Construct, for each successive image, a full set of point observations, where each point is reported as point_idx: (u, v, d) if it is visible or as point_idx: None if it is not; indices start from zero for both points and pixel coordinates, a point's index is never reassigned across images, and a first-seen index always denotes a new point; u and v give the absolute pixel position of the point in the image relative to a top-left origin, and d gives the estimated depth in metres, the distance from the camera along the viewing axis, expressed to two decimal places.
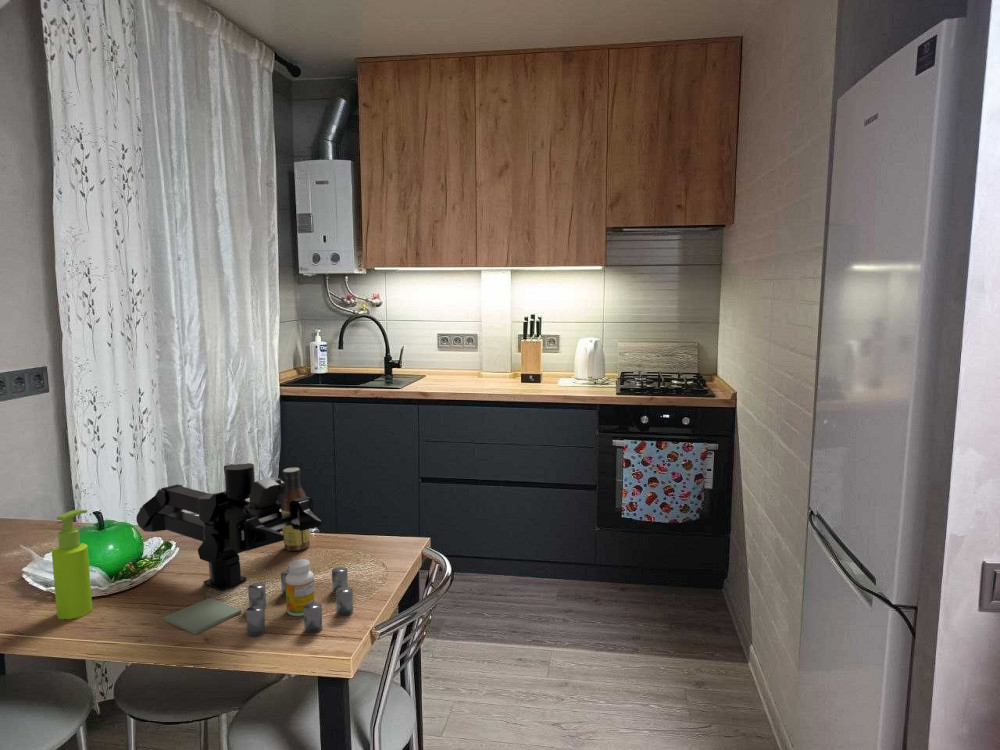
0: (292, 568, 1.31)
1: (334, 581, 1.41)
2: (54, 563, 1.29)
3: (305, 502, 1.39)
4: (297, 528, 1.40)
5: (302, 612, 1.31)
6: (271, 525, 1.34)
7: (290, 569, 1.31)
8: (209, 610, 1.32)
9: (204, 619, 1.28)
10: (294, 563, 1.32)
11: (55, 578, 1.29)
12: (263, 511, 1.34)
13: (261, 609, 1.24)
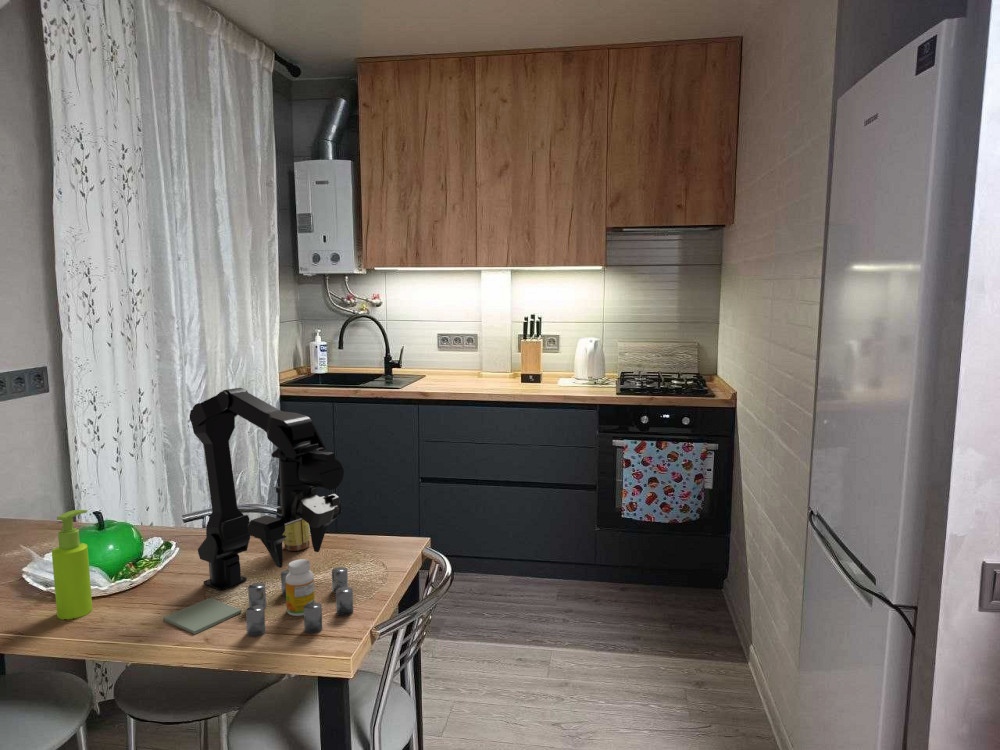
0: (292, 568, 1.31)
1: (334, 581, 1.41)
2: (54, 563, 1.29)
3: (332, 520, 1.36)
4: None
5: (302, 612, 1.31)
6: None
7: (290, 569, 1.31)
8: (209, 610, 1.32)
9: (204, 619, 1.28)
10: (294, 563, 1.32)
11: (55, 578, 1.29)
12: None
13: (261, 609, 1.24)
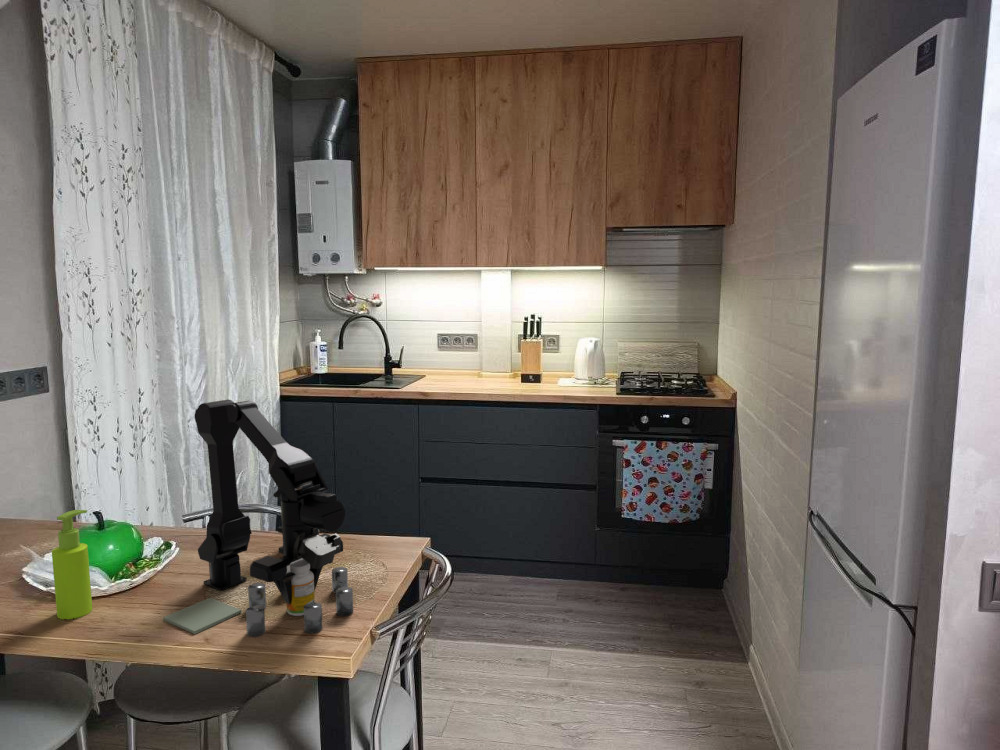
0: (292, 568, 1.31)
1: (334, 581, 1.41)
2: (54, 563, 1.29)
3: None
4: None
5: (302, 612, 1.31)
6: None
7: (290, 569, 1.31)
8: (209, 610, 1.32)
9: (204, 619, 1.28)
10: (294, 563, 1.32)
11: (55, 578, 1.29)
12: None
13: (261, 609, 1.24)
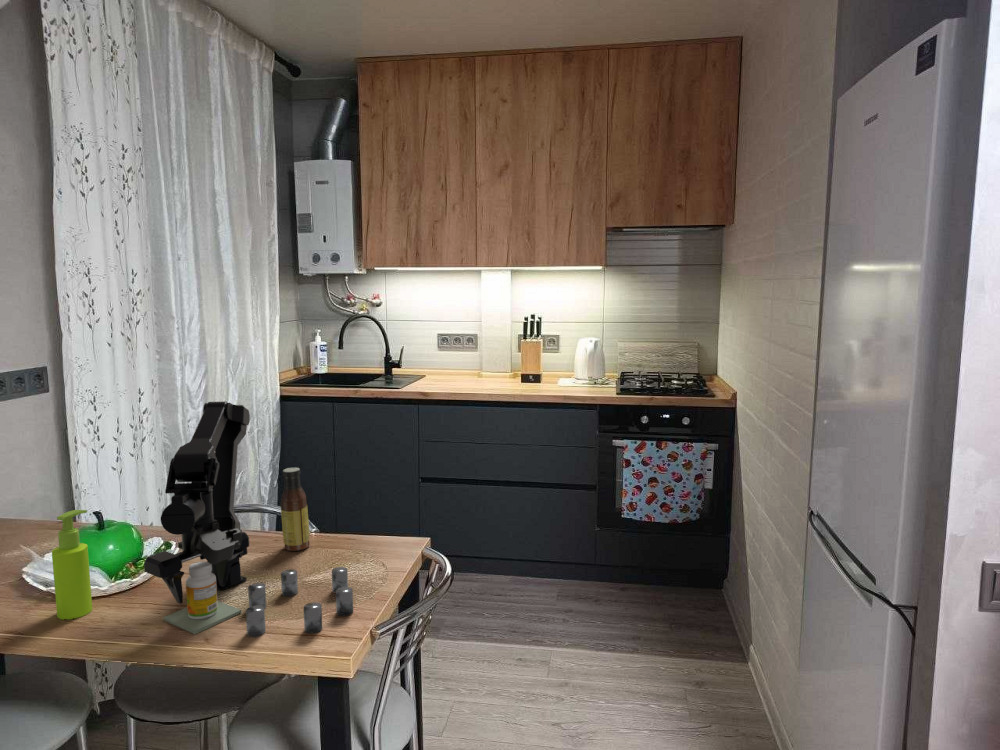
0: (191, 571, 1.28)
1: (334, 581, 1.41)
2: (54, 563, 1.29)
3: (237, 553, 1.34)
4: None
5: (202, 615, 1.28)
6: None
7: (190, 571, 1.28)
8: None
9: (204, 619, 1.28)
10: (194, 565, 1.30)
11: (55, 578, 1.29)
12: None
13: (261, 609, 1.24)
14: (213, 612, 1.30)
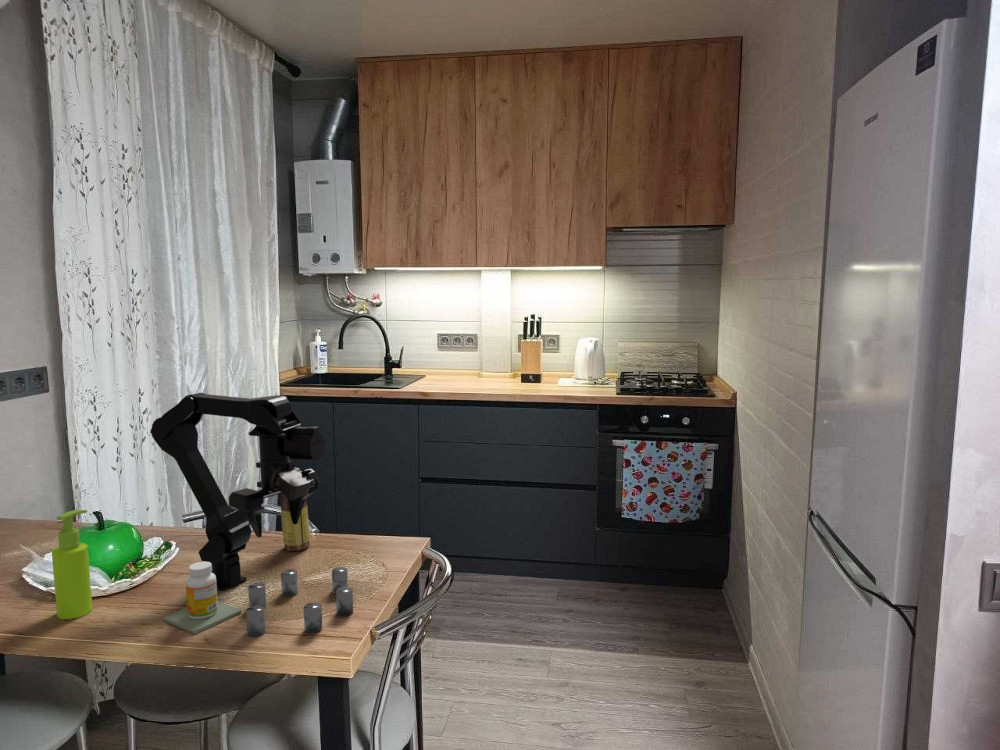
0: (191, 571, 1.28)
1: (334, 581, 1.41)
2: (54, 563, 1.29)
3: (309, 494, 1.44)
4: None
5: (202, 615, 1.28)
6: None
7: (190, 571, 1.28)
8: None
9: (204, 619, 1.28)
10: (195, 565, 1.30)
11: (55, 578, 1.29)
12: None
13: (261, 609, 1.24)
14: (213, 612, 1.30)
